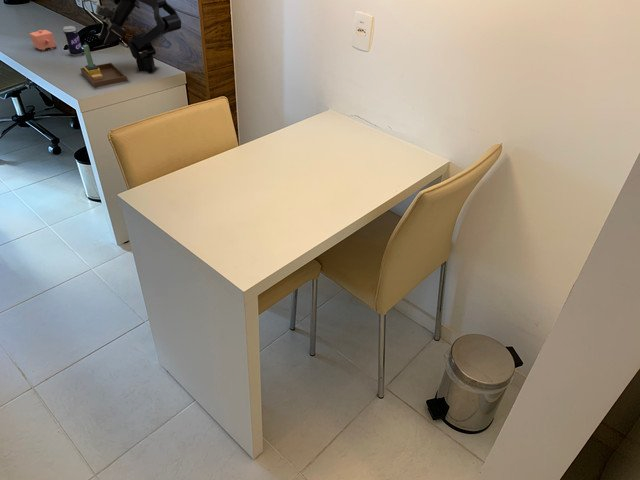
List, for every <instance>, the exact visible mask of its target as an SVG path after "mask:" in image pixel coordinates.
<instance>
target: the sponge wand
mask: <svg viewBox="0 0 640 480" xmlns="http://www.w3.org/2000/svg"><path fill="white" fill-rule="evenodd" d="M82 50H83V52H84V55H85V60H86V63H87V65H84V67H83V68H84V69H85V72H86V73H87V74H88V75H89V76H90V77H91V75H96V74H101V71H100V69H99V68H98V67H97V66H96V63H94V61H93V57H92V53H91V49H90V46H89V44H83V45H82Z"/></svg>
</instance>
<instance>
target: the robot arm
mask: <svg viewBox="0 0 640 480" xmlns="http://www.w3.org/2000/svg"><path fill="white" fill-rule="evenodd" d="M110 1H111V2H112V3H113V4H114V5H116V6H113V7H112V8H109V7H106V6H105V5H100V4H97V5H96V10H95V13H96V15H97V16H100V18H101V19H100V21H101V24H102V27H101V31H100V34H99V40H100V41H102V40H104V42H103V45H104V47H107V46H109V45H110V44H112V43H114V42H116V41H119V40H120V39H122V38H123V39H124V38H125V36H126V35H127V32H126V30H125V29H124V25H125V23H126V21H129V20H130V16H131V14H132V12H133V11H134V9H135V8H137V9H138V10H140V9H141V5H140V3H142V4H145V5H148V6H149V7H151V9H152V10H153V18H154V20H155V21H154V22H155V23H156V25H155V26H154V27H152V28H150V29H149V30H148V31H147V32H146V31H142V32H139V33H135V34H133V35H132V36H131V37H129V40H128V49H129V51H130V53H131V55H132V58H134V60H135V62H136V67H137V72H143V73H148V74H152V73H153V72H154V71H155V70H156V69H158V67H157V66H156V64H155V58H154V56H155V55H156V54H157V51H156V48H155V47H154V46H153V43H155V42H156V41H157V40H158V39H160V38H161V37H163V36H164V35H166V34H168V33H173V32H174V31H178V30H181V28H182V20H181V18H180V16H179V14H178V13H177V10H176V9H175V8H173V7H172V5H170V4H169V3H168V2H167V0H110ZM160 9H163V11H165V12H166V13H167V14H169V15H165V16H161V15H160Z"/></svg>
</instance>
